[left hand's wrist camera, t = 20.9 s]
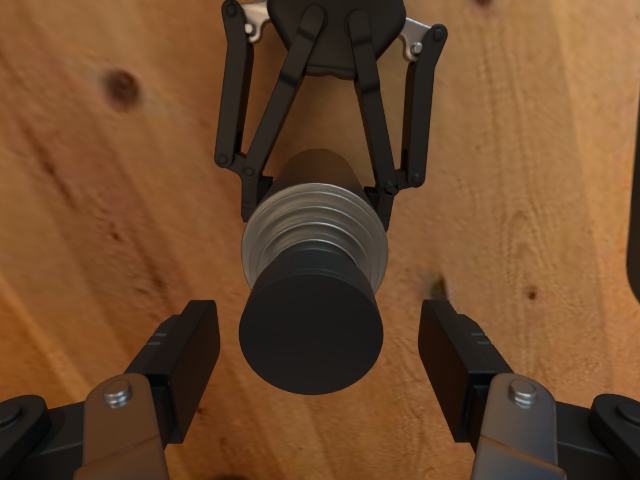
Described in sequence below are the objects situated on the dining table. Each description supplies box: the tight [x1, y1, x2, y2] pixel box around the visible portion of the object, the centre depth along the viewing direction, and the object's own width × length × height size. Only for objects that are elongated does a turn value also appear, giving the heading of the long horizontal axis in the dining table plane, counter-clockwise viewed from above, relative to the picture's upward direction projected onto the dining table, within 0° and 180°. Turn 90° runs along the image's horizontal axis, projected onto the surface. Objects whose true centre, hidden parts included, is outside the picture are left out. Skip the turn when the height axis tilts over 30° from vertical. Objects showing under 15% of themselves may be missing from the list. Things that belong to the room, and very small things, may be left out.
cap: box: [239, 250, 383, 395], centre depth 11 cm, size 4×4×2 cm
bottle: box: [241, 149, 388, 295], centre depth 21 cm, size 7×7×22 cm
